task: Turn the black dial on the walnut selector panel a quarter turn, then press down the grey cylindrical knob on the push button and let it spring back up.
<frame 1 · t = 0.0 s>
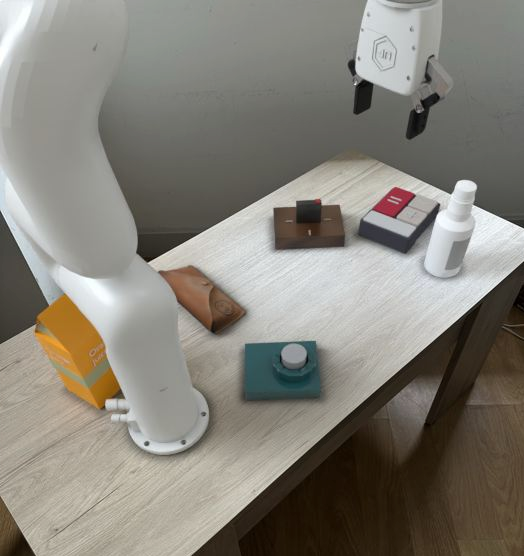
hand: (387, 123, 74), 31 cm above the table, tool pointing down, fingers open, 9 cm apart
selector: (307, 232, 108), on the table
spray bottle: (441, 267, 101), on the table
orange juice: (102, 381, 87), on the table
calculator: (398, 226, 109), on the table
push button: (281, 373, 86), on the table
sunglasses case: (200, 300, 98), on the table
dial: (308, 210, 104), point 5 cm above the table, hinge at 0.0°
grey cylindrical knob: (294, 356, 83), point 4 cm above the table, slide at 0.1 cm
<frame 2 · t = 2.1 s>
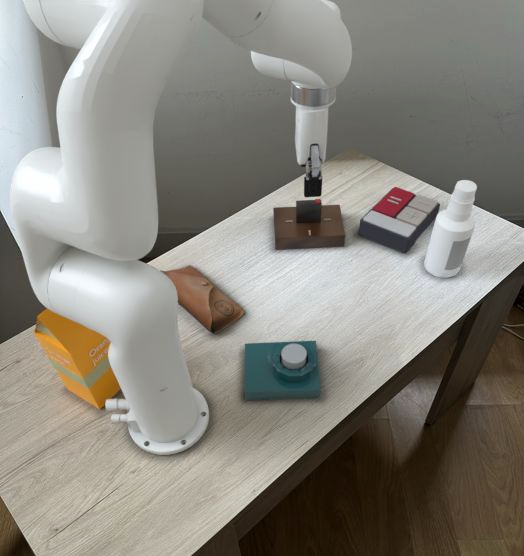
hand: (310, 180, 99), 12 cm above the table, tool pointing down, fingers open, 9 cm apart
nothing on the table moved.
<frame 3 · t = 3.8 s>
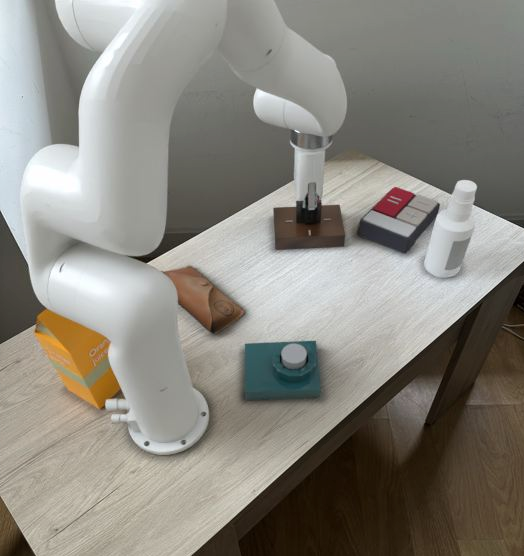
hand: (308, 218, 106), 4 cm above the table, tool pointing down, fingers closed
dial: (308, 210, 104), point 5 cm above the table, hinge at 0.0°, touching gripper
everything else where it was.
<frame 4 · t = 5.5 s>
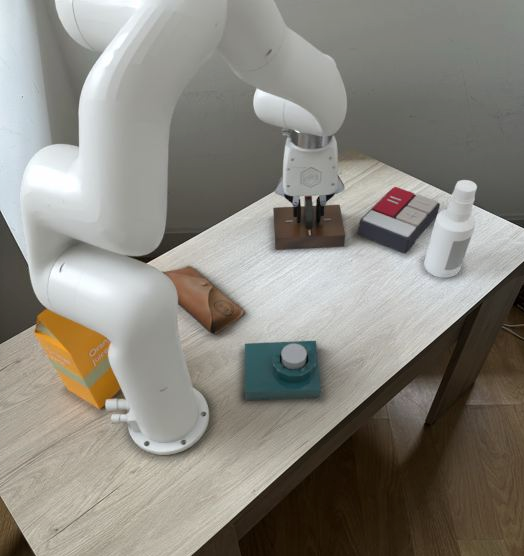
hand: (308, 217, 105), 4 cm above the table, tool pointing down, fingers open, 3 cm apart
dial: (308, 210, 104), point 5 cm above the table, hinge at 89.2°
everything else where it was.
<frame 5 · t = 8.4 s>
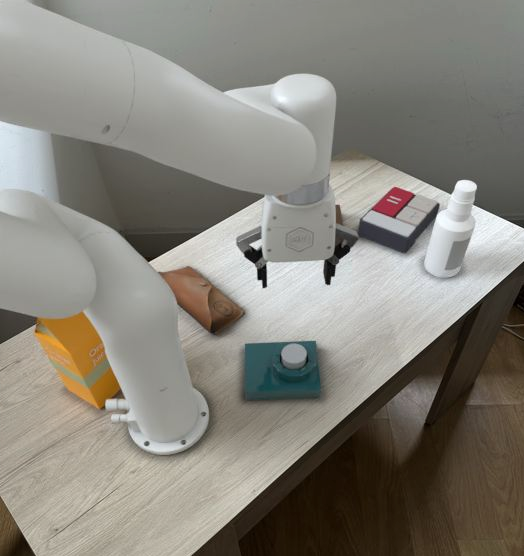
hand: (295, 280, 80), 14 cm above the table, tool pointing down, fingers open, 9 cm apart
nothing on the table moved.
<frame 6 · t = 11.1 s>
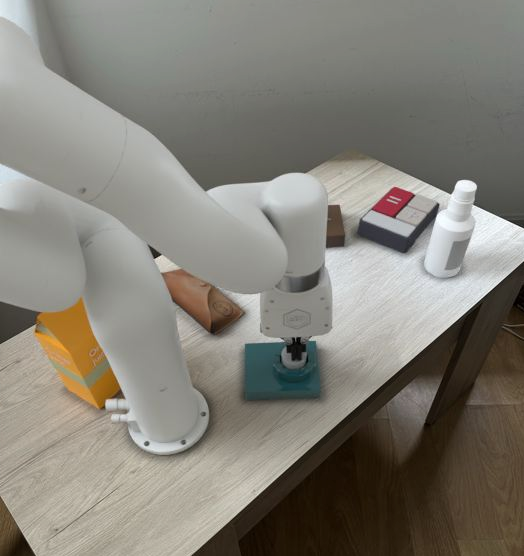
hand: (295, 353, 82), 5 cm above the table, tool pointing down, fingers closed
grey cylindrical knob: (294, 357, 83), point 4 cm above the table, slide at -0.1 cm, touching gripper
everything else where it was.
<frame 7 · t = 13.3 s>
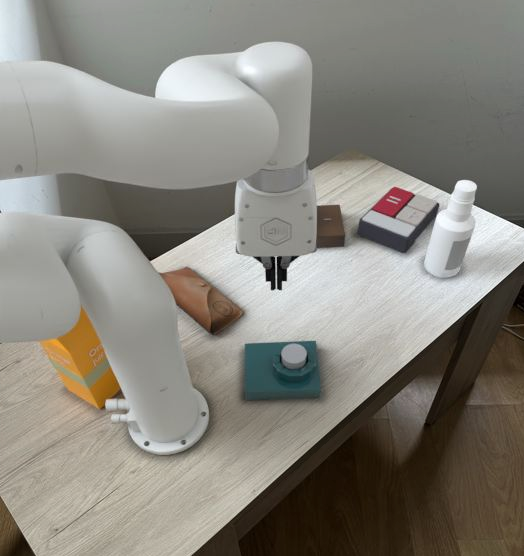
hand: (276, 283, 74), 18 cm above the table, tool pointing down, fingers closed
grey cylindrical knob: (294, 356, 83), point 4 cm above the table, slide at 0.1 cm
everything else where it was.
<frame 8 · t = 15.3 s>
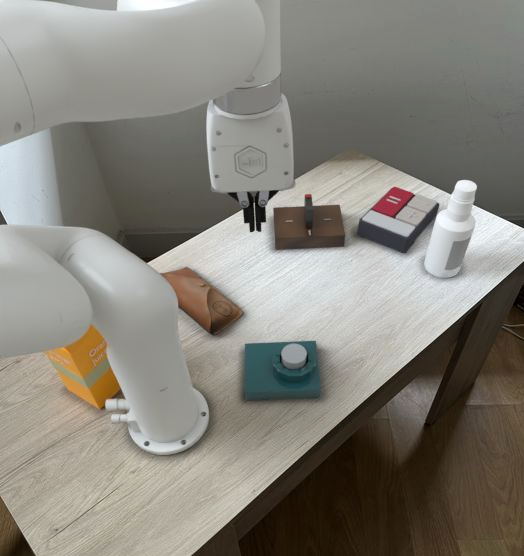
hand: (255, 225, 71), 25 cm above the table, tool pointing down, fingers closed
nothing on the table moved.
at the end: dial at +89° (first picture: +0°); grey cylindrical knob pushed in 1.0 cm at the most during the clip, back to where it started at the end; grey cylindrical knob slide at 0.1 cm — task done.
